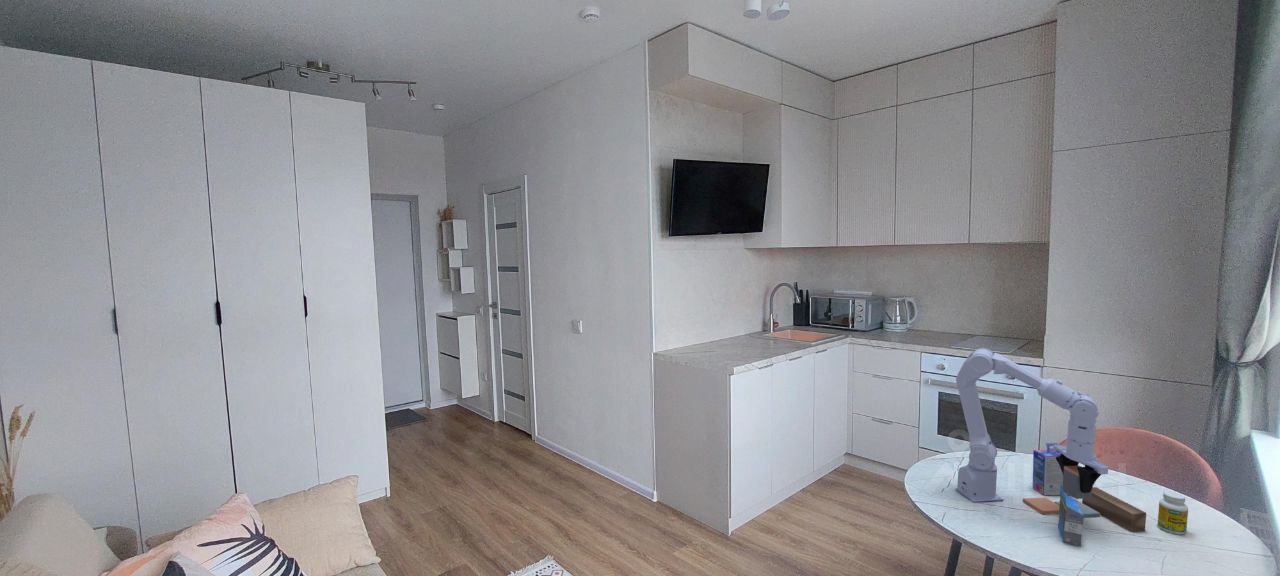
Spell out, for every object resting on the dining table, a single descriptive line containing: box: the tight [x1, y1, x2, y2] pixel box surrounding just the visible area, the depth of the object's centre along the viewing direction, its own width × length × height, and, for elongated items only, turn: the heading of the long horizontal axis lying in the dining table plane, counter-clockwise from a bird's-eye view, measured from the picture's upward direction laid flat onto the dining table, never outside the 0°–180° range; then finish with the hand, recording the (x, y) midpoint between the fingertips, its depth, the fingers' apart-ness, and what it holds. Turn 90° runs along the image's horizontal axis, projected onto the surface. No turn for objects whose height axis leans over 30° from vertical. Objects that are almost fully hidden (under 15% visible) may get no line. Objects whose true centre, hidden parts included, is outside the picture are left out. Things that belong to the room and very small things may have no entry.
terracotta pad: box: [1022, 496, 1060, 515], centre depth 148 cm, size 7×7×1 cm
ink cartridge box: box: [1032, 442, 1070, 496], centre depth 157 cm, size 10×6×14 cm, turn 89°
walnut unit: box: [1081, 486, 1147, 533], centre depth 143 cm, size 4×14×5 cm, turn 4°
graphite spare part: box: [1063, 464, 1094, 500], centre depth 142 cm, size 4×4×7 cm
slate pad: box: [1053, 499, 1101, 518], centre depth 146 cm, size 7×7×1 cm
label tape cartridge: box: [1057, 483, 1085, 547], centre depth 134 cm, size 9×4×12 cm, turn 148°
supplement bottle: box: [1157, 490, 1189, 535], centre depth 136 cm, size 5×5×10 cm
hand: (1077, 487), depth 142 cm, fingers closed on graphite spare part, 4 cm apart
